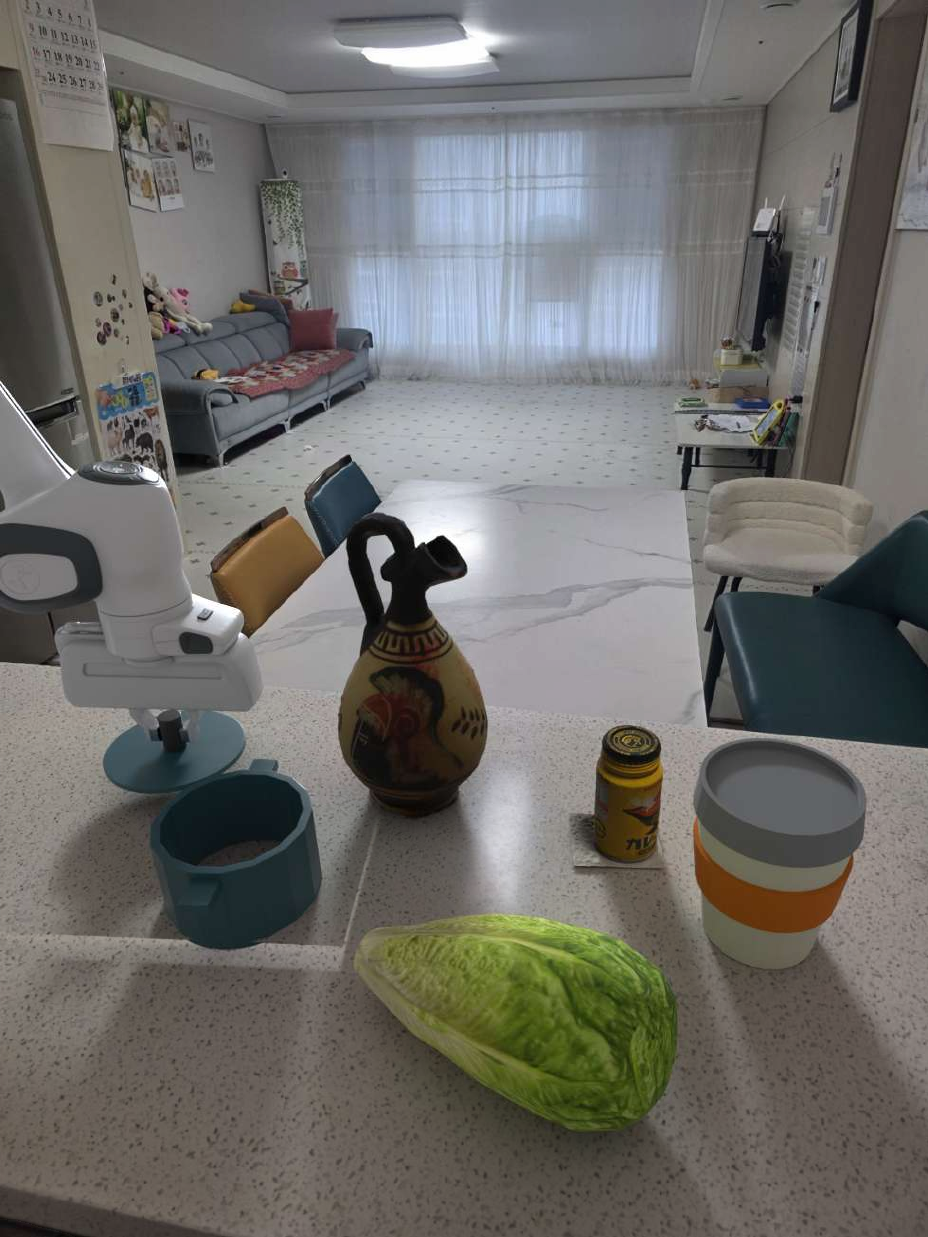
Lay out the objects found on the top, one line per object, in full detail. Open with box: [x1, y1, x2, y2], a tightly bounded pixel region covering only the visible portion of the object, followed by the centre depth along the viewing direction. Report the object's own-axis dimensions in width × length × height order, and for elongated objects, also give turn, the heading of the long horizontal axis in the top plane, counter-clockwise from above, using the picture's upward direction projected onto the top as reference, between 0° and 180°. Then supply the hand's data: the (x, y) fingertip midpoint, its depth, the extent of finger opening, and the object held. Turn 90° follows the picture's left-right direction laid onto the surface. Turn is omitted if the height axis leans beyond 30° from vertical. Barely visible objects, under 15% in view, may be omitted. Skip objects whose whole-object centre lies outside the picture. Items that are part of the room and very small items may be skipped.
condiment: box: [569, 724, 666, 869], centre depth 77 cm, size 7×8×12 cm
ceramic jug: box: [337, 511, 489, 819], centre depth 82 cm, size 17×15×30 cm
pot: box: [149, 758, 323, 950], centre depth 73 cm, size 14×19×8 cm
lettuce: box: [353, 913, 679, 1133], centre depth 59 cm, size 12×24×13 cm
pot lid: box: [102, 710, 247, 795], centre depth 88 cm, size 15×15×5 cm
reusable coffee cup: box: [692, 737, 868, 970], centre depth 66 cm, size 13×13×15 cm
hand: (174, 738), depth 88 cm, fingers closed on pot lid, 2 cm apart
